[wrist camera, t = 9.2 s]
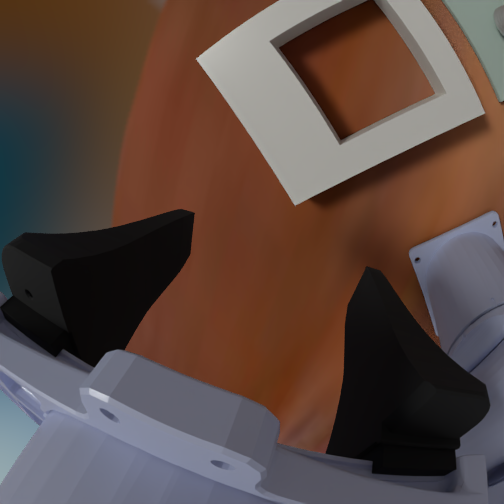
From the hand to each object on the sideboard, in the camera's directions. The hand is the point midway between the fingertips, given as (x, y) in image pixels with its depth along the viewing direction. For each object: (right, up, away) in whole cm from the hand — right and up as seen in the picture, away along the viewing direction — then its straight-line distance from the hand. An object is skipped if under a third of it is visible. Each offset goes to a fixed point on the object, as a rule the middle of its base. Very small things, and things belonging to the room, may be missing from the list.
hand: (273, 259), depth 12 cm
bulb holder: (+5, +12, +4) cm, 13 cm away
